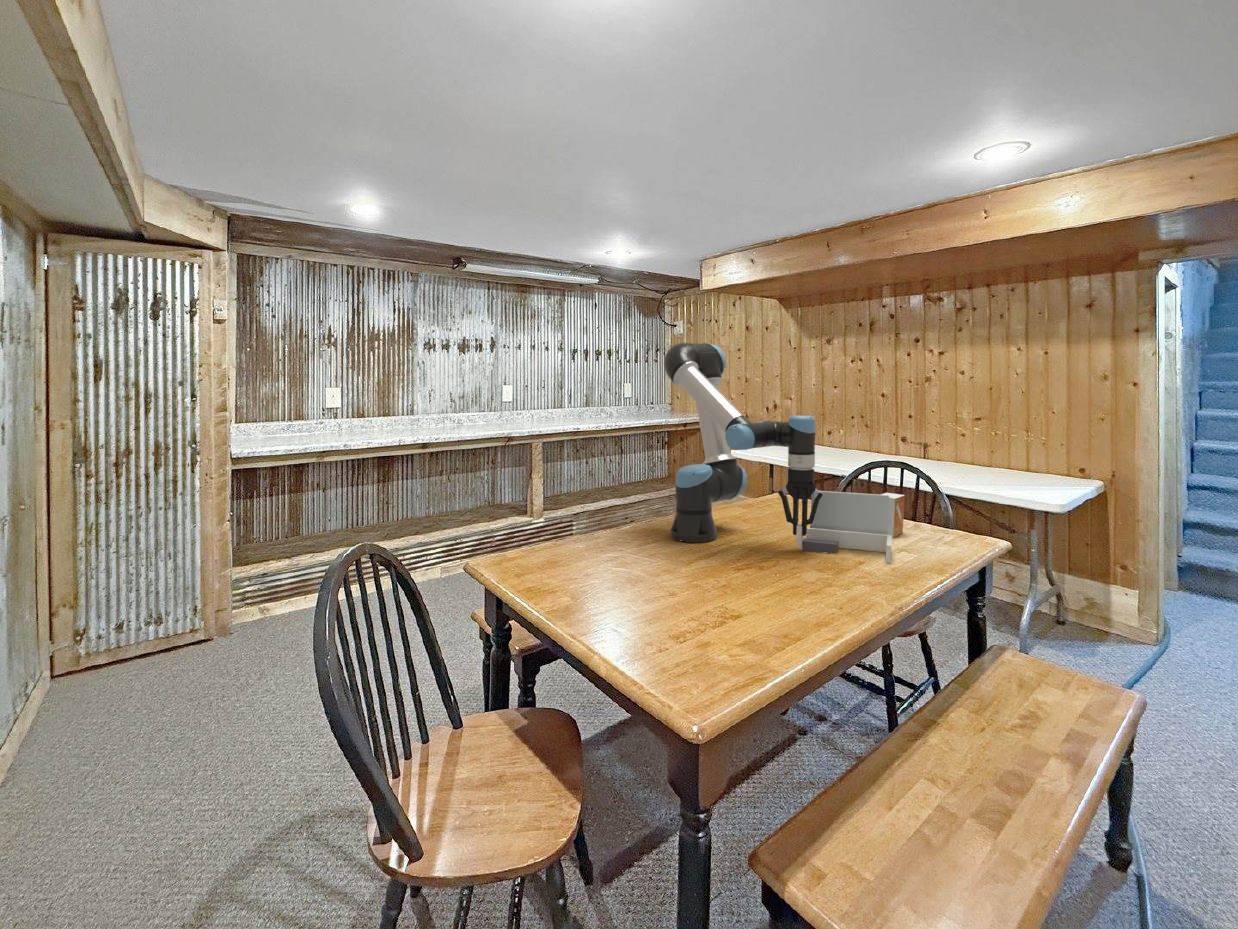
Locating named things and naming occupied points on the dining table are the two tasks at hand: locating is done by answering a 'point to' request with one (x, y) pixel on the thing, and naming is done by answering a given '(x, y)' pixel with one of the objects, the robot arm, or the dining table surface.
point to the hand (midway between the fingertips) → (799, 545)
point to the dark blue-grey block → (820, 546)
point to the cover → (852, 512)
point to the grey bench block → (854, 540)
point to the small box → (895, 514)
